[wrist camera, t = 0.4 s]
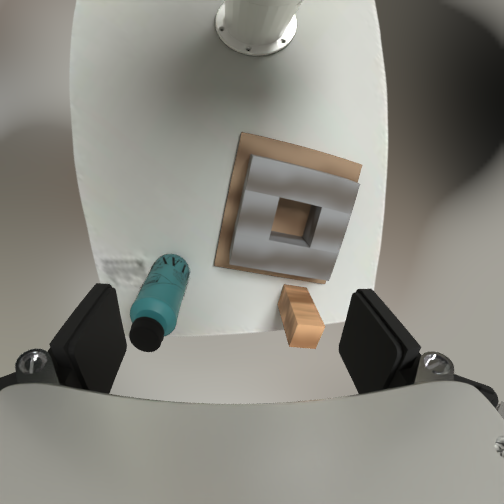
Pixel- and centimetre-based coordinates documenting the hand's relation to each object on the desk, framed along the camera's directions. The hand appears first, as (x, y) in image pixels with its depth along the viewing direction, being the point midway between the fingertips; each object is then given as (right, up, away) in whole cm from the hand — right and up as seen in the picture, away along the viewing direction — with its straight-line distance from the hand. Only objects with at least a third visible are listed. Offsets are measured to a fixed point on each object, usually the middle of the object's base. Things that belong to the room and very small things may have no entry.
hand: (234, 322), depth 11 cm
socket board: (+6, +9, +35) cm, 37 cm away
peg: (+8, -6, +42) cm, 43 cm away
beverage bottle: (-13, 0, +38) cm, 40 cm away
